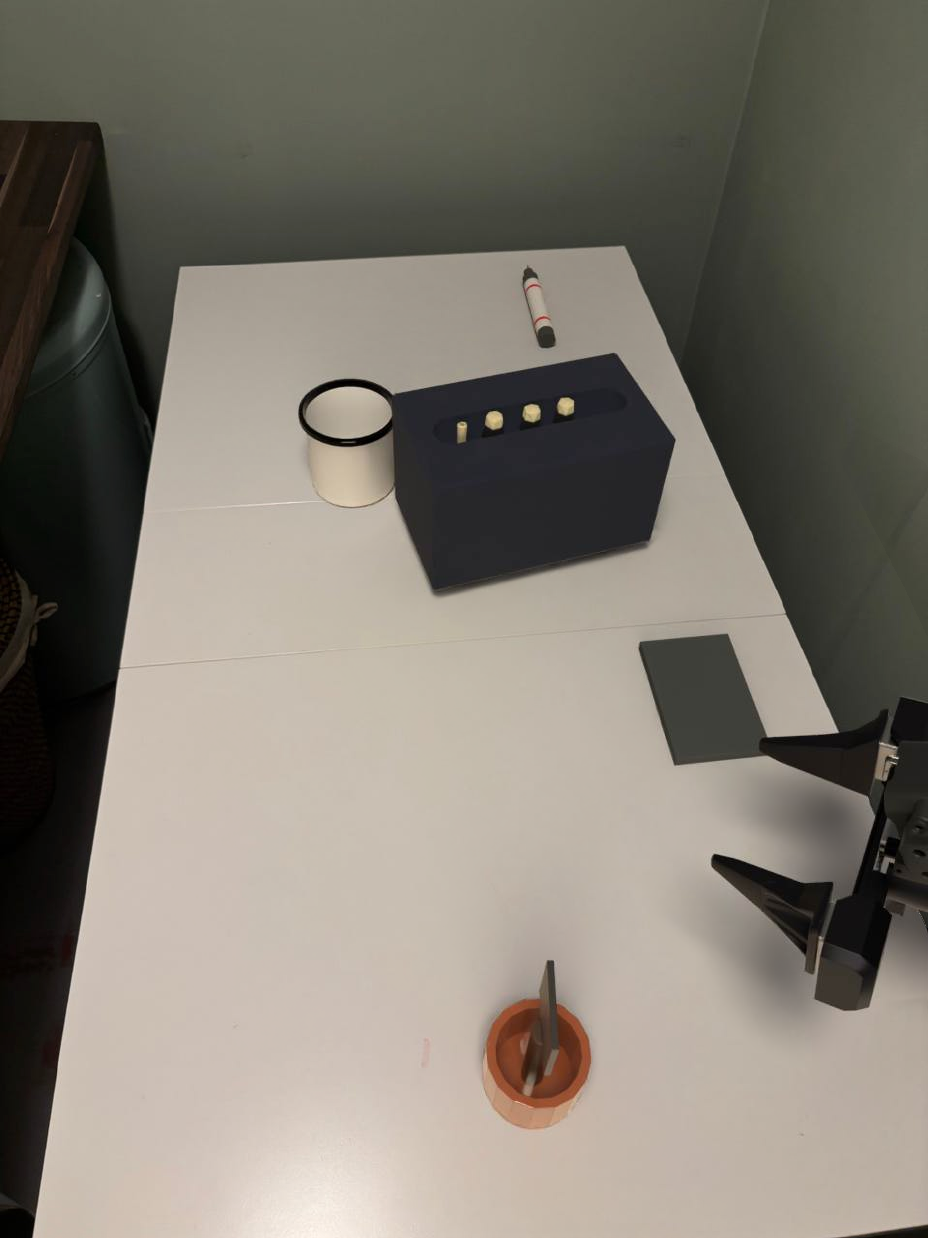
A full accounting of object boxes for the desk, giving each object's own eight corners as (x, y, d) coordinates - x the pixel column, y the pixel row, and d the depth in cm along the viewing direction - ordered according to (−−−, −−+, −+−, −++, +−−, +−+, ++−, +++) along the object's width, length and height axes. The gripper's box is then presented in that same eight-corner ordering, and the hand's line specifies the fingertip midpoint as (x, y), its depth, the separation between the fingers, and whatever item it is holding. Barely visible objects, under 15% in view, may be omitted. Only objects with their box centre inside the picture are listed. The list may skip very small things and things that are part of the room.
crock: (599, 1071, 65) (611, 1047, 61) (539, 1153, 62) (547, 1133, 58) (524, 1005, 68) (530, 977, 63) (462, 1080, 65) (464, 1056, 60)
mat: (769, 755, 81) (772, 749, 80) (674, 765, 80) (676, 759, 79) (725, 640, 88) (727, 633, 88) (638, 648, 87) (640, 641, 87)
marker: (555, 347, 115) (556, 332, 113) (538, 348, 115) (539, 333, 113) (534, 273, 124) (535, 259, 123) (518, 274, 124) (519, 260, 123)
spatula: (541, 1035, 66) (563, 960, 55) (545, 1114, 63) (569, 1050, 52) (519, 1035, 66) (537, 959, 55) (522, 1114, 63) (541, 1050, 52)
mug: (308, 516, 97) (299, 445, 90) (305, 451, 102) (296, 380, 95) (430, 507, 98) (430, 436, 91) (420, 443, 104) (420, 372, 97)
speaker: (596, 465, 102) (617, 342, 91) (649, 552, 95) (679, 431, 83) (394, 508, 98) (389, 384, 86) (433, 603, 90) (433, 482, 78)
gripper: (1074, 669, 54) (785, 606, 61) (1021, 969, 43) (679, 851, 51) (1031, 788, 62) (779, 720, 69) (976, 1068, 51) (685, 953, 58)
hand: (736, 799), depth 61 cm, fingers open, 9 cm apart
